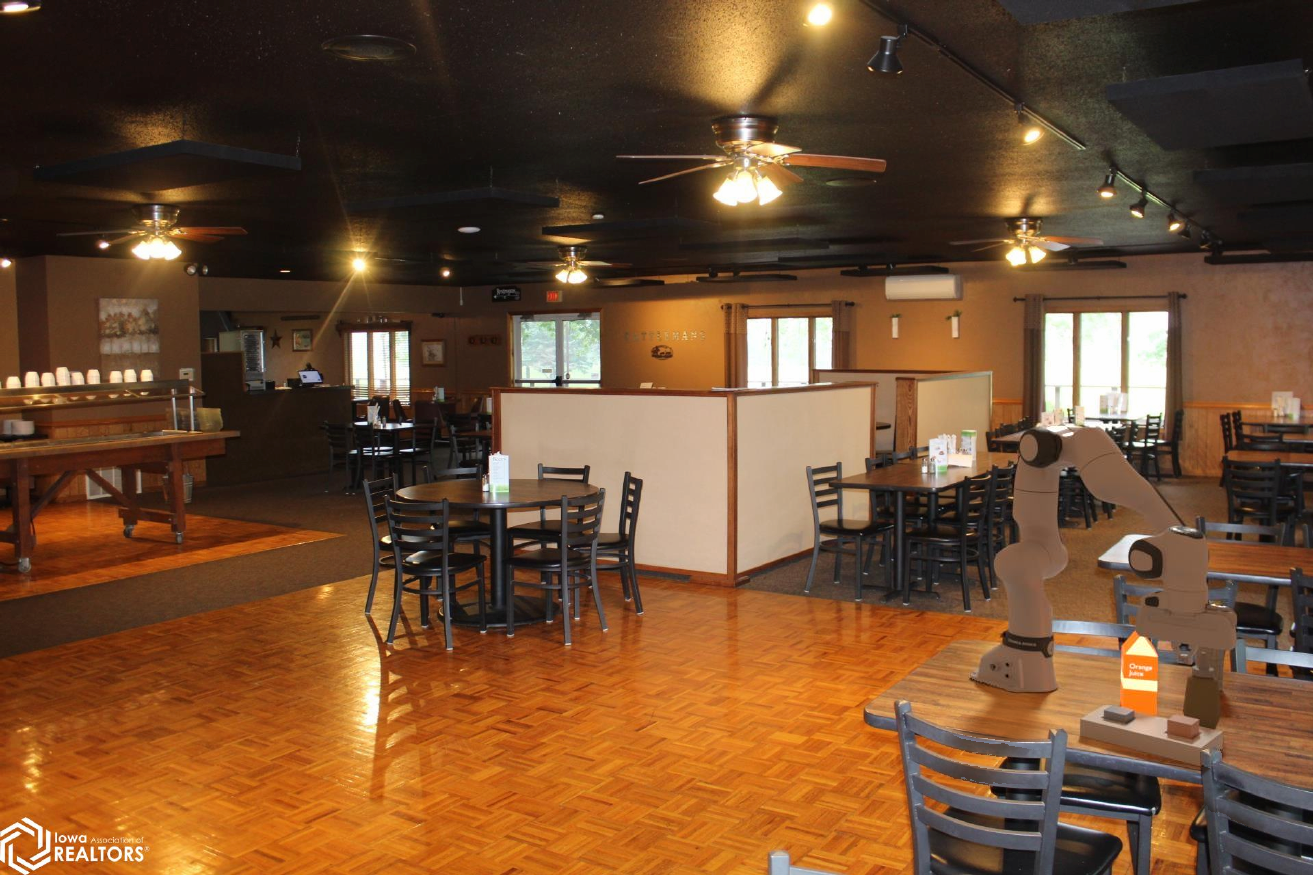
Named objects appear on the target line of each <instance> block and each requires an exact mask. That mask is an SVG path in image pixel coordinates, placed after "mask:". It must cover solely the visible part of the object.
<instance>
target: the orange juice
mask: <svg viewBox="0 0 1313 875" xmlns="http://www.w3.org/2000/svg"><path fill="white" fill-rule="evenodd" d="M1131 633H1132V634H1131V635H1130V636H1129V637H1128V638H1127V639H1126V640H1125V642H1123V644H1122V645H1121V656H1120V657H1121V658H1120V659H1121V662H1120V665H1121V666H1120V698H1119V699H1120V707H1124V708H1128V709H1132V710H1135V712H1140V713H1144V714H1149V715H1153V716H1157V709H1158V708H1157V707H1158V705H1157V703H1158V672H1159V669H1158V668H1159V655H1158V652H1157V651H1156V647H1154V645H1153V644H1152V642H1151V641H1150V639H1149V638H1146V637H1140V636H1138V634H1137V633H1136V631H1135V630H1134V631H1133V632H1131Z"/></svg>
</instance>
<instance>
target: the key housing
mask: <svg viewBox="0 0 1313 875" xmlns="http://www.w3.org/2000/svg"><path fill="white" fill-rule="evenodd" d="M1110 706H1111V705H1110V704H1109V705H1108V704H1104V705H1102V706H1101V707H1099V708H1097V709H1095V710H1094V711H1092V712H1090V713H1088V714H1086V715H1084V716H1082V717H1081V718H1080V722H1079V736H1080V737H1083V738H1084V737H1085V738H1087V739H1091V740H1095V741H1099V742H1104V743H1107V744H1111V745H1115V746H1119V747H1122V748H1128V749H1131V750H1134V751H1139V752H1143V753H1146V754H1151V755H1155V756H1158V757H1161V758H1162V757H1163V758H1165V759H1169V760H1170V759H1171V760H1174V761H1177V762H1182V763H1187V764H1189V765H1194V766H1197V767H1201V766H1202V765H1200V752H1201V751H1202V750H1205V749H1208V748H1210V747H1216V748H1218V749H1221V751H1222V750H1223V745H1224V744H1223V743H1224V742H1223V741H1224V740H1223V738H1224V737H1223V736H1224V731H1223V730H1222V731H1221V730H1218V729H1215V730H1214V729H1210V728H1205V727H1201V726H1199V735H1198V736H1197V737H1196V738H1194V739H1193V740H1192V739H1188V738H1184V737H1179V736H1175V735H1171V734H1167V719H1168V718H1165V717H1161V716H1157V715H1149V714H1144V713H1140V712H1135V711H1134V720H1133V721H1131V722H1129V723H1128V724H1125V723H1121V722H1116V721H1112V720H1108V719H1104V710H1105V709H1107V708H1108V707H1110Z"/></svg>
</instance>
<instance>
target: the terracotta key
mask: <svg viewBox="0 0 1313 875" xmlns="http://www.w3.org/2000/svg"><path fill="white" fill-rule="evenodd" d="M1166 719H1167V734H1171V735H1175V736H1179V737H1184V738H1188V739H1192V740H1193V739H1194V738H1196V737H1197V736H1198V735H1199V719H1195V718H1190V717H1186V716H1184V715H1183V714H1182V715H1181V714H1176V713H1175V714H1173V715H1172V716H1171V717H1169V718H1166Z"/></svg>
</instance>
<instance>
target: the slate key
mask: <svg viewBox="0 0 1313 875" xmlns="http://www.w3.org/2000/svg"><path fill="white" fill-rule="evenodd" d="M1109 706H1110V707H1108V708H1107V709H1105V710H1104V719H1108V720H1112V721H1116V722H1121V723H1125V724H1128V723H1129V722H1131V721H1133V720H1134V711H1135V710H1132V709H1128V708H1124V707H1122V706H1118V705H1114V704H1112V705H1109Z"/></svg>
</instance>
